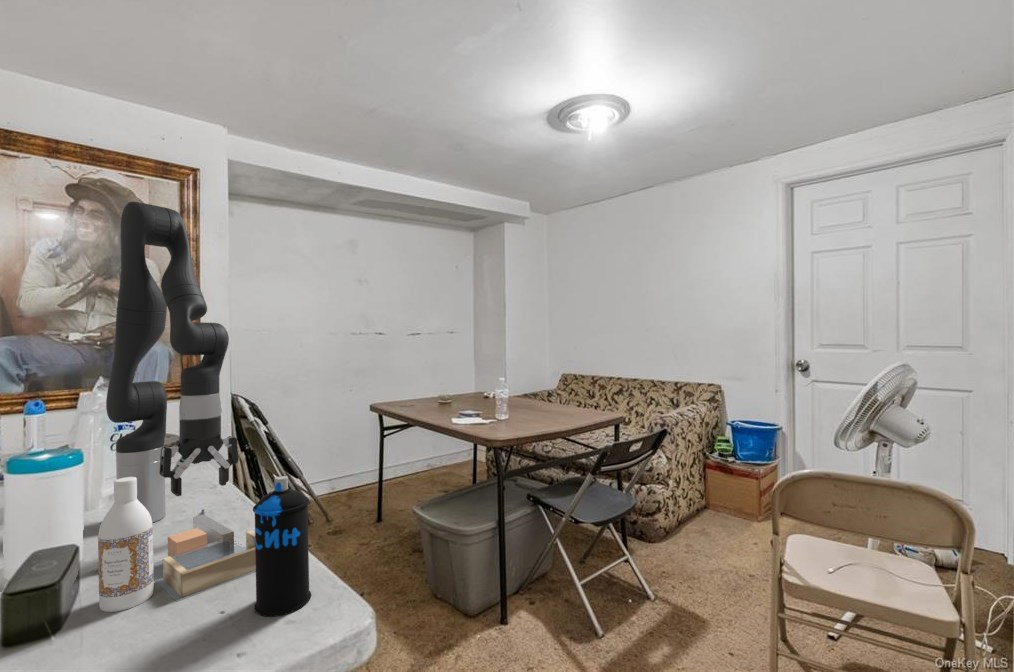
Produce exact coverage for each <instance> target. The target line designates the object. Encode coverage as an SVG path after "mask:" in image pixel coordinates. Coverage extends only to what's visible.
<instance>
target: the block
mask: <svg viewBox="0 0 1014 672" xmlns="http://www.w3.org/2000/svg"><path fill="white" fill-rule="evenodd" d="M203 545H207V533H205V532H203V531H202V530H200V529H198V528H195V529H193V528H192V529H188V530H185V531H182V532H179V533H175V534H171V535H168V536H167V557H168V556H170V557H171V558H172V555H175V554H178V553H181V552H184V551H187V550H191V549H194V548H197V547H200V546H203Z"/></svg>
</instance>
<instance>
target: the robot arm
mask: <svg viewBox="0 0 1014 672" xmlns="http://www.w3.org/2000/svg"><path fill="white" fill-rule="evenodd" d="M146 246H153V247H162V248H166V249H167V251H168V252H169V255H170V261H169V263H168V265H167V267H166V269H165V271H164V273H163V275H162V276H161V282H160V286H159V285H158V283H157V281H155V279H154V277H153V275H152V274H151V272H150V270H149V267H148V265H147V261H146V250H145V249H146ZM194 269H195V268H194V264H193V259H192V252H191V247H190V241H189V238H188V232H187V228H186V223H185V221H184V219H183V217H182V215H181V214H180V213H179V212H178V211H176V210H175V209H172V208H169V207H163V206H159V205H156V204H155V205H154V204H150V203H145V202H140V201H130V202H128V203H126V204H125V205H124V207H123V209H122V213H121V217H120V278H119V287H118V288H119V290H118V297H117V304H116V315H115V317H116V318H115V332H114V333H115V334H114V351H113V352H114V353H113V360H112V365H111V371H110V374H109V375H110V377H109V381H108V386H107V387H108V388H107V392H106V401H105V403H106V405H105V410H106V414H107V417H108V419H109V420H110V421H111V422H113V423H116V424H121V423H122V424H123V423H130V422H137V421H142V423H141V425H140V426H139V427H137V428H136V429H135V430H133V431H131V432H129V433H128V434H125V435H123V436H121V437H120V438H118V439H117V440H116V442H115V464H116V465H115V466H116V476H115V478H116V480H117V479H121V478H126V477H136V478H137V500H138V501H139V502H140V503H141V504H142V505H143V506H144V507H145V508H146V509H147V510H148V512H149V514H150V516H151V519H152V523H155V522H158V521H160V520H162V519H164V518H165V517H166V478H167V479H168V478H170V492H171V493H172V494H173V495H174V496H175V497H180V496H182V487H183V486H182V482H183V481H182V477H181V476H182V475H183V473H184V472H185V471H186V470H187V469H188V468H189V467H190V465H191V464H192V465H196V464H200V463H203V462H204V463H205V462H206V463H207V462H211V460H214V462H215V463H217V464H218V465H219V467H218V483H219V486H222V487H223V486H226V485H227V483H228V482H229V480H230V467H231V466H232V465H235V464H238V463H239V451H238V450H239V449H238V438H237V437H235V436H232V435H229V436H227V437H226V438H222V411H223V410H222V401H221V396H220V395H221V393H220V380H221V379H220V375H221V371H222V367H223V363H224V360H225V356H226V353H227V350H228V348H229V344H230V343H229V342H230V339H229V337H230V336H229V333H228V331H227V328H226V327H225V326H224V325H223V324H220V323H218V322H199V321H198V322H197V321H196V320H199V319H201V318H203V317H204V316H205V315H206V314H207V312H208V305H207V302H206V300H205V298H204V294H203V292H202V290H201V287H200V285H199V283H198V279H197V277H196V273H195V270H194ZM167 311H168V312H169V323H170V329H169V330H170V331H169V343H170V346H171V348H172V349H173V350H174V351H175V352H176V353H177V354H179V355H182V356H202V359H201V360H200V361H199V363H198V364H195V365H192V366H189V367H185V368H184V369H182V371H181V373H180V399H179V400H180V401H179V408H178V409H179V412H178V413H179V415H178V416H179V417H178V419H179V422H178V423H179V443H178V445H177V446H166V445H165V440H166V439H165V438H166V433H167V411H168V396H167V390H166V388H165V386H164V384H163V383H162V382H160V381H158V380H152V381H149V380H148V381H138V382H137V381H135V382H133V381H134V377H135V374H136V371H137V368H138V366H139V365H140V363H141V361H142V360H143V358H144V357H145V356H146V355H147V354H148V353H149V352H150V350H151V349H152V348H153V347H154V345H156V343H157V342H158V341H159V339H161V337H162V336H163V333H164V332H165V329H166V321H167ZM193 321H196V322H193ZM223 446H224V447H225V448H227V459H225V457H224V456H223V455H222V454H221V453H220V452H219V451H220V450H221V448H222V447H223ZM176 453H179V454H180V455H181V456H180V458H178V460H177V462H176V464H175V466H174V467H173V468H172V467H171V466H172V458H175V455H176ZM171 469H172V470H171Z"/></svg>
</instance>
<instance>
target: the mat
mask: <svg viewBox="0 0 1014 672" xmlns="http://www.w3.org/2000/svg"><path fill="white" fill-rule="evenodd" d="M234 542H236V541H234ZM238 544H239V543H238ZM234 545H236V546H234V554H237V553H240V552H243V551H246V547H241V546H239V545H237V543H234ZM240 545H242V544H240ZM234 554H232V555H234ZM229 556H231V555H229ZM226 557H228V556H226ZM223 558H225V557H223ZM220 559H222V558H220ZM220 559H217V560H220ZM217 560H214V561H217ZM214 561H211V562H214ZM211 562H208V563H211ZM208 563H205V564H208ZM205 564H203V565H205ZM200 566H202V565H200ZM197 567H199V566H197ZM194 568H196V567H194ZM191 569H193V568H191ZM188 570H190V569H188ZM153 572H154V580H153V581H154V582H155V583H157V584H158V585H159V586H160V587H161V588H162V589H163V590H164V591H165V592H166V593H167V595H170V597H171V598H173V600H174V601H175V602H177V603H178V602H180V601H183V600H185V599H189V598H191V597H193V596H196V595H199V594H201V593H204V592H207V591H210V590H212V589H214V588H217V587H219V586H222V585H225V584H227V583H230V582H233V581H235V580H238V579H240V578H243V577H246V576H248V575H250V574H253V573H256V570H255V571H252V572H250V573H247V574H244V575H242V576H239V577H237V578H234V579H231V580H229V581H226V582H223V583H221V584H218V585H216V586H213V587H210V588H208V589H205V590H202V591H200V592H197V593H195V594H192V595H189V596H187V597H184V598H183V597H182V596H181V595H179V594H178V593H177V592H176V591H175V590H174V589H173V588H172V587H171V586H170V585H169V584H167V583H166V582H165V581H164V580H163V559H161V560H157V561H153Z"/></svg>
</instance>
